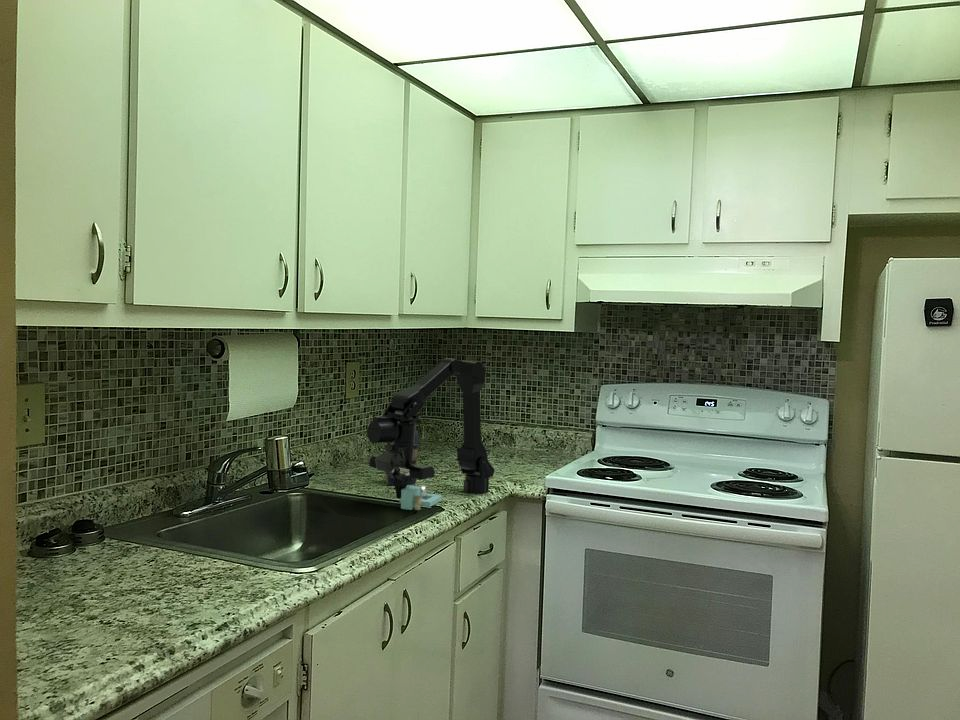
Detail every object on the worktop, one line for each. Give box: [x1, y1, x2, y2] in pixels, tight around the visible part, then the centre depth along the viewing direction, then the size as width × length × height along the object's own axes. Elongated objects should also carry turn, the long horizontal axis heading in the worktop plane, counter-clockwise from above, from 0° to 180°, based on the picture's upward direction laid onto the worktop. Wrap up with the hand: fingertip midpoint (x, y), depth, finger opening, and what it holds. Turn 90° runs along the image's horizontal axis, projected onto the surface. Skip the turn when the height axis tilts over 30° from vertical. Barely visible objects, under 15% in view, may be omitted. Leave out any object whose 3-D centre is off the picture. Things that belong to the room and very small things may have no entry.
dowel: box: [413, 496, 422, 511], centre depth 202 cm, size 2×2×4 cm
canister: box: [385, 429, 419, 486], centre depth 235 cm, size 10×10×18 cm
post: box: [415, 484, 428, 500], centre depth 210 cm, size 3×3×4 cm
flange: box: [399, 485, 444, 511], centre depth 208 cm, size 14×9×5 cm, turn 161°
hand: (398, 498), depth 205 cm, fingers closed
